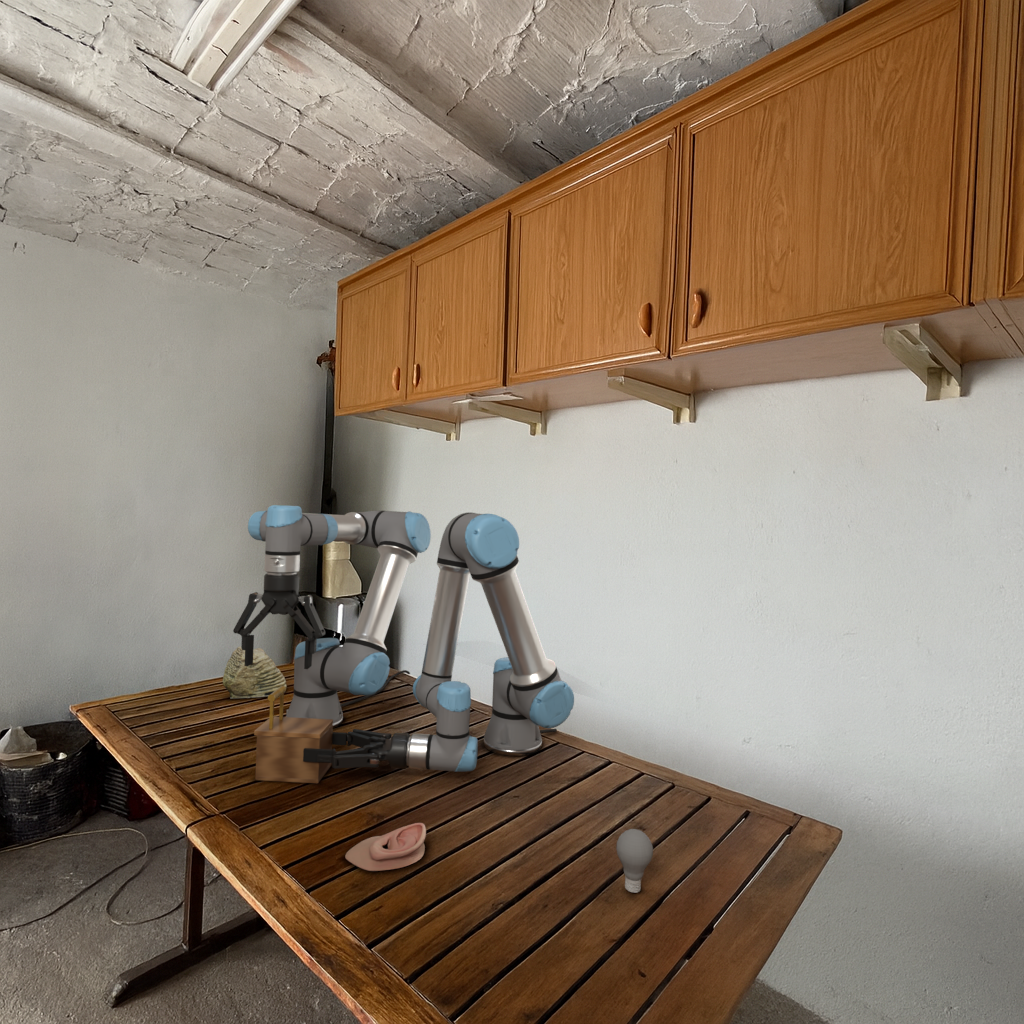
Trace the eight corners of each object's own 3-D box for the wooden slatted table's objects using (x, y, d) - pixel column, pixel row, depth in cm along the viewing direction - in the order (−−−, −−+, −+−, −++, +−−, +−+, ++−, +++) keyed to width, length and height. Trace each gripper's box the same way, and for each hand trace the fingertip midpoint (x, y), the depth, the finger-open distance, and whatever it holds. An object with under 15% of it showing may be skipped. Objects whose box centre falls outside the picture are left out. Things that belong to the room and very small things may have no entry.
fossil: (218, 695, 195) (220, 647, 195) (278, 685, 208) (279, 640, 207) (228, 703, 189) (230, 653, 188) (289, 692, 201) (290, 645, 201)
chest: (255, 780, 140) (256, 735, 140) (272, 762, 150) (273, 720, 149) (318, 783, 140) (319, 739, 140) (331, 765, 149) (332, 723, 149)
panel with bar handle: (253, 735, 140) (255, 695, 140) (271, 720, 149) (272, 683, 149) (319, 738, 140) (321, 699, 139) (332, 723, 149) (334, 686, 149)
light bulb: (610, 879, 108) (613, 822, 108) (644, 879, 109) (647, 822, 109) (619, 902, 102) (622, 840, 102) (655, 901, 103) (658, 840, 103)
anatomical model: (337, 842, 109) (366, 811, 120) (336, 865, 109) (365, 832, 120) (410, 854, 106) (432, 821, 117) (409, 878, 106) (432, 842, 118)
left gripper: (219, 572, 140) (216, 667, 141) (331, 577, 140) (327, 673, 140) (235, 568, 148) (231, 659, 148) (341, 573, 147) (337, 664, 148)
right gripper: (398, 789, 133) (293, 783, 133) (417, 748, 155) (326, 743, 156) (400, 754, 133) (294, 748, 133) (418, 717, 155) (327, 713, 155)
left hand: (278, 666), depth 144 cm, fingers open, 13 cm apart
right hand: (311, 745), depth 144 cm, fingers closed on chest, 9 cm apart
